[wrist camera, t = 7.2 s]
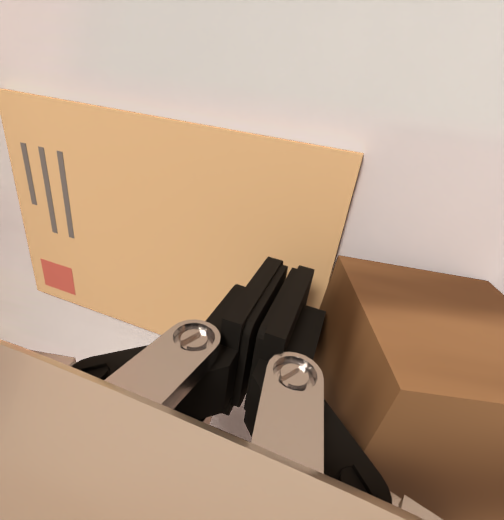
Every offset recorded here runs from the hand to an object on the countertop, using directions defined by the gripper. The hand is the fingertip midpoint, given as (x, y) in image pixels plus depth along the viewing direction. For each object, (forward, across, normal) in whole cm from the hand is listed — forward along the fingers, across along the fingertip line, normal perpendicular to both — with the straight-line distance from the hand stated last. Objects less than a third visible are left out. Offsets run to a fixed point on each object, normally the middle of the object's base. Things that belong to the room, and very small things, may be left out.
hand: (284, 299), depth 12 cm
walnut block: (+1, -4, 0) cm, 4 cm away
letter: (+2, +6, 0) cm, 6 cm away
